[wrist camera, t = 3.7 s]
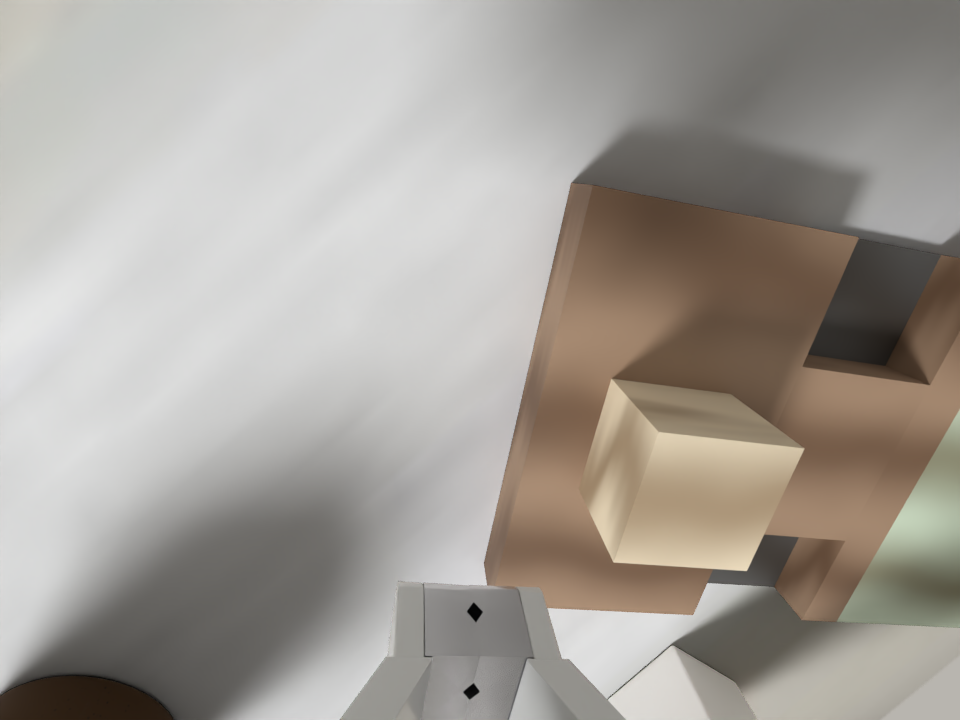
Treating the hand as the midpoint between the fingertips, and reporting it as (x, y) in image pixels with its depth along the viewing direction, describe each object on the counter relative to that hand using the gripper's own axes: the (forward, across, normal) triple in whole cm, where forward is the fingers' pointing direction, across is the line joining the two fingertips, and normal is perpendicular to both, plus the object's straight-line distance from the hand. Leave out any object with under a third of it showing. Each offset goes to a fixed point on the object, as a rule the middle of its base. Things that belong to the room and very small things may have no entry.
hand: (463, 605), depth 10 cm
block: (+8, -8, 0) cm, 12 cm away
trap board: (+11, -17, 0) cm, 20 cm away
